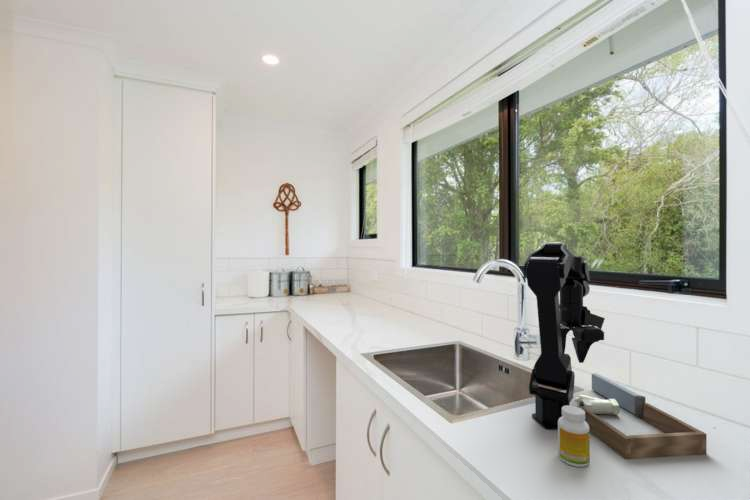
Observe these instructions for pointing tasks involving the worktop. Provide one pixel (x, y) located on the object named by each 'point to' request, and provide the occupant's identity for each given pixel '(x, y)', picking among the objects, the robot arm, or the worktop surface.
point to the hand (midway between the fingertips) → (571, 357)
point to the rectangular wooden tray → (650, 435)
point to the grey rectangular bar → (615, 392)
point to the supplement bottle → (573, 437)
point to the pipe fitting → (598, 405)
